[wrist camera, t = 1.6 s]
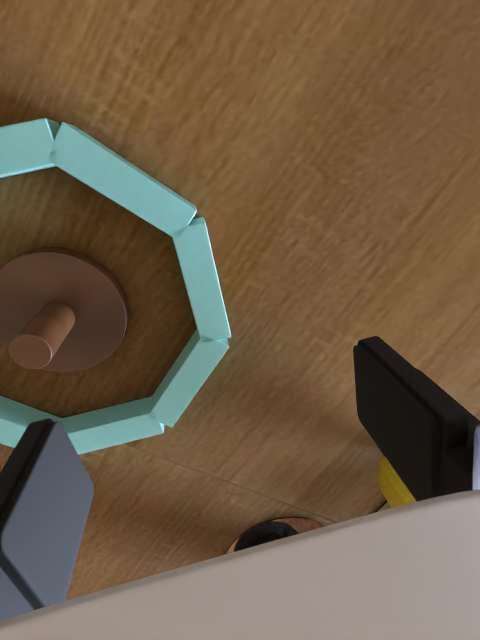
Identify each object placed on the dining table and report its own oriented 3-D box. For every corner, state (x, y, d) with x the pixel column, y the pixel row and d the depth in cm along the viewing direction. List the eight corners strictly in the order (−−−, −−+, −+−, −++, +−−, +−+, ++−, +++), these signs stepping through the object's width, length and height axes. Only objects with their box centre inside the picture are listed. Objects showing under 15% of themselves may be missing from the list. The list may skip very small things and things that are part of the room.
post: (-32, 264, 21) (-102, 297, 16) (103, 234, 21) (79, 257, 16) (28, 375, 24) (-12, 432, 19) (144, 347, 24) (135, 396, 19)
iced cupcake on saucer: (370, 555, 37) (348, 684, 31) (292, 530, 44) (262, 630, 38) (310, 506, 31) (270, 649, 26) (232, 486, 39) (188, 595, 33)
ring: (-216, 176, 18) (-261, 178, 16) (175, 97, 19) (175, 91, 17) (-17, 460, 26) (-31, 482, 24) (244, 395, 27) (248, 411, 26)
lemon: (403, 415, 31) (471, 492, 24) (428, 448, 33) (497, 528, 26) (351, 450, 32) (402, 535, 24) (379, 480, 34) (432, 567, 27)
